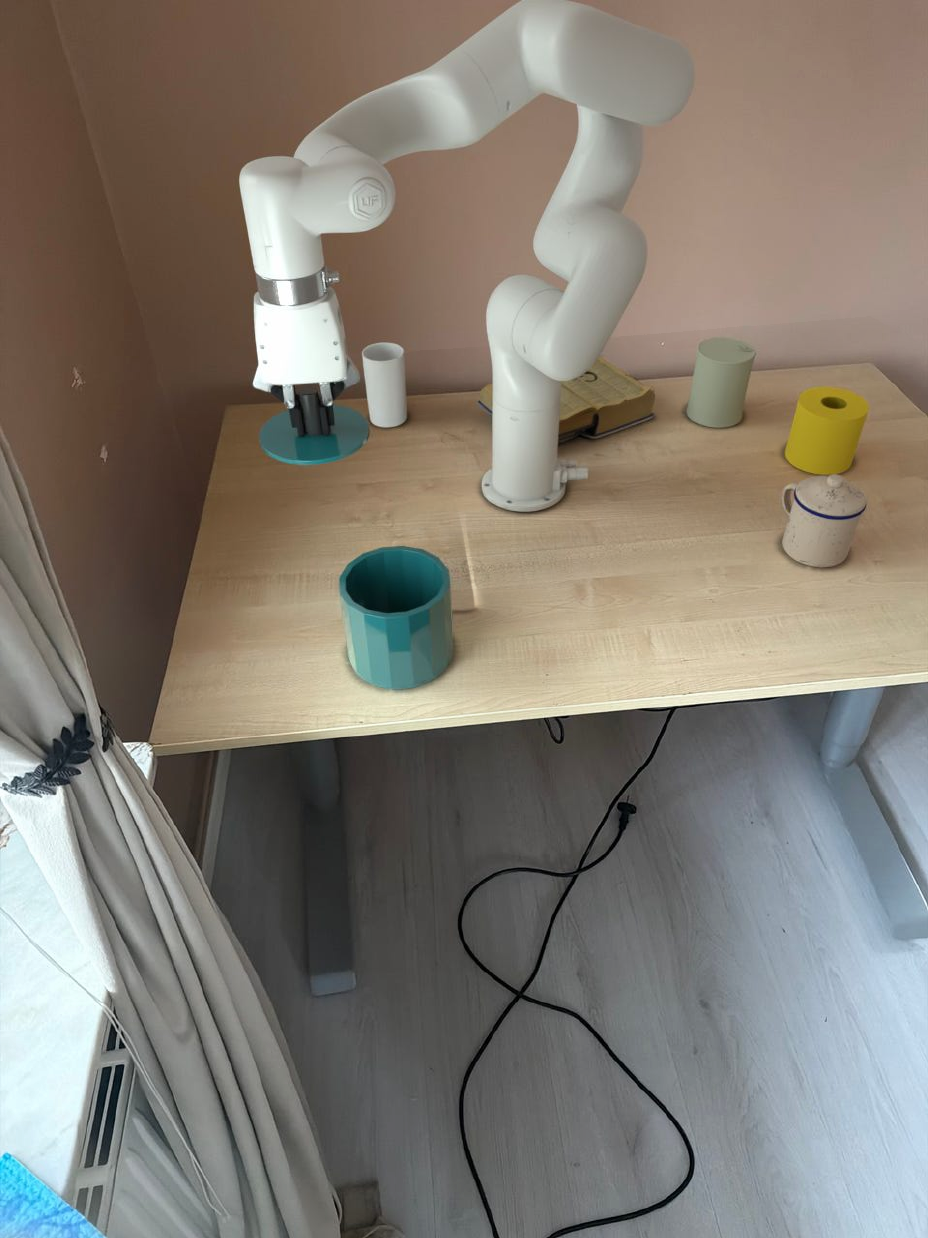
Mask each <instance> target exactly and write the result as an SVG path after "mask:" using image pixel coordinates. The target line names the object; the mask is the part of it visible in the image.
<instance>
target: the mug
mask: <svg viewBox="0 0 928 1238" xmlns="http://www.w3.org/2000/svg"><path fill="white" fill-rule="evenodd" d="M361 356H362V367H363V376H364V384H365V392H366V398H367V407H368V408H367V409H368V413H369V420H370V422H371V423H372V424H373V425H374V426H376V427H380V428H395V427H398V426H401V425H402V424H404V423H406V420H407V419H408V409H407V405H408V404H407V385H406V384H407V383H406V362H405V361H406V360H405V349H404V348H403V346H401V345H399V344H397V343H394V342H384V341H383V342H376V343H371V344H369V345H367V346H366V347H364V348H363V349H362V351H361Z"/></svg>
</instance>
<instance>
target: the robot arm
mask: <svg viewBox="0 0 928 1238" xmlns="http://www.w3.org/2000/svg"><path fill="white" fill-rule="evenodd" d="M695 75H696V74H695V65H694V60H693V58H692V55H691V53H690V51H689V50H688V48H687V46H686V45H684V44H683V43H682V42H681V40H678V39H677V38H675V37H672V36H669V35H667V34H663V33H661V32H658V31H655V30H654V29H653V30H652V29H649V28H647V27H645V26H642V25H639V24H636V23H633V22H631V21H628V20H625V19H623V18H620V17H619V16H616V15H613V14H611V13H608V12H607V11H604V10H601V9H599V8H596V7H594V6H592V5H588V4H586V3H585V4H584V3H582V2H581V3H580V2H577V1H572V0H519V1H518V2H517V3H515V4H513V5H512V6H510V7H509V8H508V9H506V10H505V11H504V12H502V13H501V14H500V15H498V16H497V17H496V18H494V19H493V20H492V21H490V22H489V23H487V25H484V27H482V28H481V29H480V30H478V31H477V32H476V33H475V34H472V36H470V37H469V38H468V39H467V40H465V41H464V42H462V43H461V44H460V45H459V46H457V47H456V48H455V49H453V50H452V51H450V52H449V53H448V54H446V55H444V57H442V58H441V59H440V60H438V61H436V62H435V63H433V64H432V65H431V66H429V67H427V68H425V69H423V70H420V71H418V72H415V73H412V74H409V75H407V76H405V77H403V78H401V79H398V80H396V81H394V82H392V83H389V84H387V85H384V86H382V87H379V88H377V89H374V90H372V91H369V92H367V93H365V94H364V95H361V96H360V97H358V98H356V99H355V100H353V101H351V102H349V103H347V104H346V105H345V106H343V107H342V108H341V109H339V110H338V111H336V112H335V113H334V114H332V115H331V116H329V117H328V118H327V119H326V120H324V121H323V122H322V123H320V124H319V125H318V126H316V127H314V129H313V130H312V131H310V132H309V133H308V134H307V135H306V136H305V137H304V138H303V140H302V141H301V142H300V143H299V145H298V146H297V148H296V150H295V152H294V155H293V156H287V155H286V156H285V155H273V156H265V157H260V158H257V159H254V160H251V161H250V162H248V163H245V165H244V166H243V167H241V170H240V172H239V178H238V183H239V191H240V197H241V203H242V208H243V213H244V219H245V224H246V228H247V229H246V231H247V235H248V241H249V246H250V253H251V257H252V258H251V259H252V263H253V268H254V269H253V270H254V275H255V281H256V286H257V292H255V293H254V295H253V323H254V337H255V345H256V354H257V366H256V371H255V373H254V376H253V380H252V381H253V382H252V387H253V388H255V389H257V390H261V391H263V392H266V393H270V394H271V395H272V396H274V397H275V398H277V400H279V401H281V402H282V403H283V404H284V407H286V408H287V409H289V413H290V419H291V425H292V428H297V432H298V437H303V436H304V434H305V430H304V424H303V418H302V411H301V405H300V400H299V393H297V387H296V386H297V385H308V384H309V385H310V384H318V386H319V389H320V396H319V397H320V407H319V409H320V416H321V423H322V430H323V435H325V436H329V432H330V426H334V425H335V420H334V411H333V404H334V401H335V400H337V398H338V397H339V396H340V395H341V394H342V392H343V391H344V390H345V389H348V388H350V387H351V386H354V385H356V384H358V383H360V381H361V373H360V370H359V369H358V367H357V366H356V365H355V364H354V362H353V360H352V358H351V356H350V355H349V351H348V344H347V338H346V332H345V327H344V326H345V325H344V320H343V316H342V311H341V307H340V303H339V300H338V297H337V294H336V291H335V289H334V288H333V287H331V286H333V285H334V284H340V272H339V270H332V269H329V267H328V266H326V262H325V259H324V251H323V243H322V236H321V235H322V234H349V233H351V234H352V233H362V232H368V231H370V230H374V229H376V228H377V227H379V226H380V225H382V224H383V223H384V222H386V220H388V218H389V216H390V215H391V214H392V212H393V209H394V208H395V207H394V206H395V203H396V187H395V183H394V180H393V178H392V176H391V174H390V172H389V171H388V169H387V168H386V167H385V166H384V165H385V164H387V163H389V162H391V161H393V160H395V159H398V158H400V157H402V156H406V155H409V154H413V153H418V152H419V153H420V152H426V151H446V150H447V151H448V150H455V149H459V148H465V147H468V146H469V147H470V146H471V145H473V144H475V143H477V142H479V141H480V140H482V139H483V138H484V137H485V136H486V135H488V134H489V133H490V132H491V131H493V130H495V129H496V128H497V127H498V126H500V125H501V123H503V122H504V121H506V120H507V119H509V118H510V117H512V115H514V114H515V113H517V112H518V111H520V110H521V109H522V108H523V107H525V106H527V105H528V104H529V103H530V102H531V101H533V100H534V99H536V98H537V97H538V96H540V95H542V94H547V95H549V96H552V97H555V98H557V99H561V100H564V101H566V102H570V103H572V104H575V105H576V111H577V120H578V123H577V124H578V127H577V136H576V141H575V144H574V148H573V151H572V153H571V155H570V157H569V160H568V162H567V165H566V167H565V169H564V171H563V172H562V175H561V177H560V178H559V181H558V183H557V185H556V187H555V189H554V191H553V193H552V195H551V197H550V200H549V201H548V203H547V206H546V208H545V209H544V211H543V213H542V216H541V218H540V220H539V222H538V224H537V226H536V229H535V232H534V235H533V239H532V243H533V244H532V248H533V249H532V250H533V252H534V255H535V257H536V259H537V261H538V262H539V263H540V264H541V265H542V266H543V267H545V268H546V269H548V270H549V271H550V272H552V273H553V274H554V275H557V277H559V278H561V279H563V280H565V281H567V282H568V283H567V285H566V288H565V290H564V291H563V290H561V289H559V288H557V287H556V286H554V285H553V284H551V283H550V282H548V281H546V280H544V279H542V278H540V277H537V276H534V275H530V274H516V275H512V276H509V277H506V278H505V279H504V280H502V281H501V282H500V283H499V284H498V285H497V286H496V287H495V288H494V290H493V291H492V292H491V295H490V296H489V299H488V301H487V302H488V303H487V306H486V311H485V326H486V335H487V340H488V345H489V352H490V358H491V370H492V372H491V373H492V383H493V413H492V416H491V417H492V419H491V420H492V424H491V425H492V426H491V427H492V431H491V432H492V435H491V436H492V437H491V438H492V439H491V440H492V442H491V444H492V445H491V449H492V450H491V454H492V455H491V467H490V468H489V469H488V470H487V471H486V472H484V474H483V476H482V479H481V491H482V494H483V496H484V497H485V498H486V500H487V501H489V502H490V503H491V504H492V505H494V506H497V507H498V508H500V509H504V510H507V511H512V512H520V513H526V512H527V513H529V512H530V513H531V512H538V511H543V510H546V509H548V508H550V507H552V506H554V505H555V504H557V503H558V502H560V501H561V500H562V499H563V497H564V496H565V494H566V488H567V487H566V485H567V482H568V481H574V480H575V481H580V480H581V481H582V480H588V479H589V468H588V466H585V465H584V466H577V464H578V463H577V460H576V459H568V460H561V459H560V458H558V447H559V443H558V433H559V417H560V401H561V387H562V381H571V380H574V379H576V378H578V377H580V376H582V375H583V374H584V373H585V372H587V371H588V370H589V369H590V368H591V367H592V365H593V364H594V363H595V361H596V360H597V359H598V357H599V356H600V355H601V354H602V352H603V351H604V349H605V347H606V346H607V344H608V342H609V340H610V339H611V337H612V335H613V333H614V331H615V330H616V328H617V325H618V324H619V323H620V321H621V319H622V317H623V315H624V313H625V311H626V310H627V308H628V306H629V304H630V302H631V301H632V299H633V297H634V295H635V294H636V291H637V290H638V288H639V285H640V284H641V281H642V279H643V277H644V273H645V270H646V266H647V261H648V242H647V241H648V240H647V238H646V235H645V233H644V230H643V229H642V228H641V227H640V225H639V224H638V223H637V222H636V221H634V219H632V218H631V217H628V216H626V215H625V214H623V213H622V211H623V209H624V207H625V206H626V203H627V201H628V198H629V197H630V195H631V192H632V190H633V187H634V185H635V184H636V181H637V179H638V176H639V174H640V171H641V167H642V165H643V164H642V163H643V156H644V129H643V126H646V127H657V126H661V125H664V124H666V123H669V122H670V121H672V120H673V119H675V118H676V117H677V116H678V115H679V114H680V113H681V112H682V111H683V110H684V108H685V107H686V105H687V104H688V102H689V100H690V98H691V96H692V93H693V89H694V86H695V79H696V77H695Z"/></svg>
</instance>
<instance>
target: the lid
mask: <svg viewBox="0 0 928 1238" xmlns="http://www.w3.org/2000/svg"><path fill="white" fill-rule="evenodd" d="M297 394H298V395H299V400H300V405H301V411H302V418H303V424H304V430H305V434H304V436H303V437H298V432H297V428H292V425H291V419H290V413H289V408H287V409H286V410H282V411H281V412H279V413H277V414H275V415H273V416H272V417H271V418H270V419H268V420H267V421H266V422H265V423H264V424H263V425H262V427H261V429H260V431H259V434H258V441H259V444H260V447H261V449H262V451H263V452H264V453H265V454H266V455H268V456H269V457H270V458H272V459H273V460H276V461H278V462H282V463H285V464H289V465H297V466H316V465H323V464H329V463H333V462H337V461H339V460H342V459H345V458H347V457H349V456H351V455H353V454H355V453H357V452H358V451H359V450H360V449H361V448H363V447H364V446H365V444H366V443H367V441H368V440H369V438H370V434H371V433H370V432H371V430H370V422H369V421H368V419H367V418H366V417H365V415H363V414H362V413H361V412H359V411H358V410H356V409H354V408H351V407H349V406H345V405H340V404H336V403H335V404H334V403H333V411H334V420H335V425H334V426H330V432H329V436H325V435H323V430H322V423H321V416H320V409H319V407H320V397H321V396H320V391H319V388H318V387H317V386H314V385H305V386H302V387H300V388H299V389H298V391H297Z"/></svg>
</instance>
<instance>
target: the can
mask: <svg viewBox="0 0 928 1238" xmlns="http://www.w3.org/2000/svg"><path fill="white" fill-rule="evenodd" d="M755 357H756V349H755V347H754V346H753V345H751V344H750V343H748V342H747V341H745V340H742V339H739V338H735V337H729V336H719V337H717V336H715V337H710V338H706V339H704V340H702V341H700V342H699V343H698V344H697V347H696V356H695V364H694V369H693V375H692V380H691V381H692V382H691V388H690V393H689V399H688V402H687V403H688V404H687V407H686V409H685V411H686V415H687V417H688V418H689V420H691V421H692V422H694V423H695V424H698V425H699V426H700V425H701V426H702V427H703V426H704V427H707V428H714V429H722V428H723V429H724V428H731V427H733V426H736V425H737V424H739V423H741V421H742V419H743V417H744V416H743V415H744V413H743V412H744V406H745V401H746V398H747V397H746V396H747V391H748V388H749V383H750V379H751V378H750V377H751V374H752V369H753V365H754V361H755Z"/></svg>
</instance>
